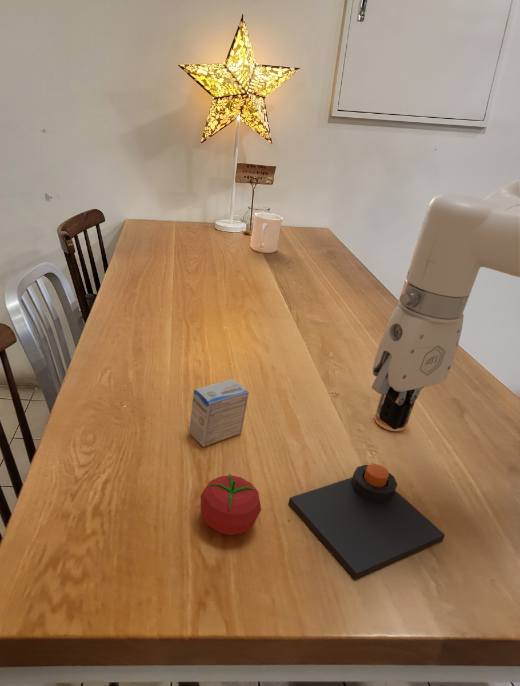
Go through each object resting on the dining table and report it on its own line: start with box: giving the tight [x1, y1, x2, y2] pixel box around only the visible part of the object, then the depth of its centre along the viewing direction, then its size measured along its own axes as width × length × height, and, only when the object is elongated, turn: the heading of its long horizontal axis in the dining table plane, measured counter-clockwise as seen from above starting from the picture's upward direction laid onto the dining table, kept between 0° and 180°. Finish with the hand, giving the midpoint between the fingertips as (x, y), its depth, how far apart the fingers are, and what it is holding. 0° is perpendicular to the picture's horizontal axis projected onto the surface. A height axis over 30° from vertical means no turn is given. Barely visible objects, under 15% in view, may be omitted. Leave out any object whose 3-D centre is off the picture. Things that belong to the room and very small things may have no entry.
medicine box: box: [188, 378, 250, 448], centre depth 87 cm, size 8×4×9 cm, turn 126°
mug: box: [249, 211, 283, 254], centre depth 184 cm, size 10×12×12 cm
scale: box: [288, 464, 446, 581], centre depth 74 cm, size 16×14×3 cm
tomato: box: [200, 473, 262, 536], centre depth 70 cm, size 8×8×8 cm
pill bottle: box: [374, 394, 416, 432], centre depth 96 cm, size 6×6×10 cm
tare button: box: [364, 463, 390, 487], centre depth 78 cm, size 3×3×2 cm
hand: (390, 422), depth 74 cm, fingers closed
